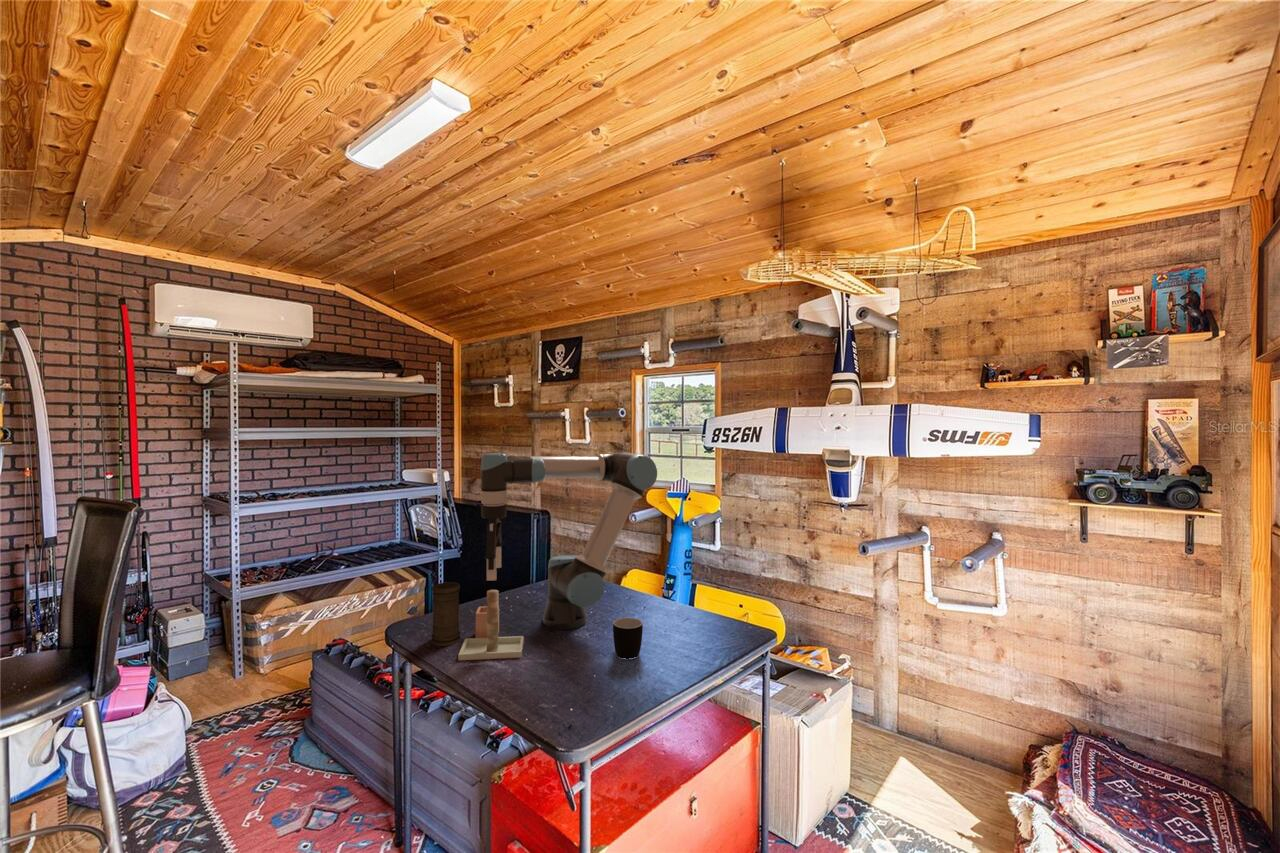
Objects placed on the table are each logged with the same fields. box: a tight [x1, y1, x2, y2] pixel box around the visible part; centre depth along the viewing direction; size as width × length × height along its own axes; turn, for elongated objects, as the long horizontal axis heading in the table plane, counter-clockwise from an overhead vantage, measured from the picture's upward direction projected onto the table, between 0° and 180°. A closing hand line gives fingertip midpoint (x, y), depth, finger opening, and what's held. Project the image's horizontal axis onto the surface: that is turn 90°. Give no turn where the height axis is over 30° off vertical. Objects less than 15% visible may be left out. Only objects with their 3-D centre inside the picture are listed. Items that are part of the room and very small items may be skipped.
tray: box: [457, 635, 525, 661], centre depth 169 cm, size 18×12×2 cm, turn 98°
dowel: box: [486, 589, 500, 652], centre depth 169 cm, size 3×3×18 cm
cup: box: [475, 605, 500, 638], centre depth 181 cm, size 7×7×9 cm
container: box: [430, 581, 462, 647], centre depth 177 cm, size 9×9×18 cm
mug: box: [612, 617, 644, 659], centre depth 169 cm, size 12×9×10 cm
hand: (494, 573), depth 169 cm, fingers open, 13 cm apart
